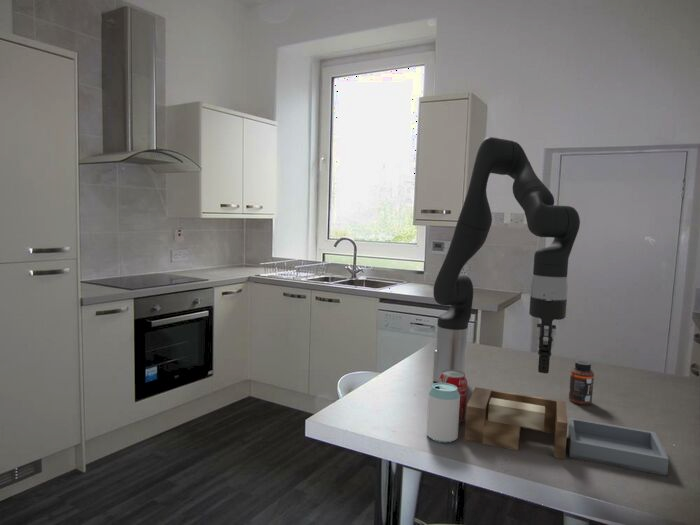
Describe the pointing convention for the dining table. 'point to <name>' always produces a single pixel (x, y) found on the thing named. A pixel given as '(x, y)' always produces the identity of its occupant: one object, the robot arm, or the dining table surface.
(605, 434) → the tray
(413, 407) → the dining table surface
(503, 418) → the slab
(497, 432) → the open wooden box frame
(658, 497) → the dining table surface
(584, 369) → the supplement bottle
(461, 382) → the soda can
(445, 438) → the can
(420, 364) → the dining table surface
